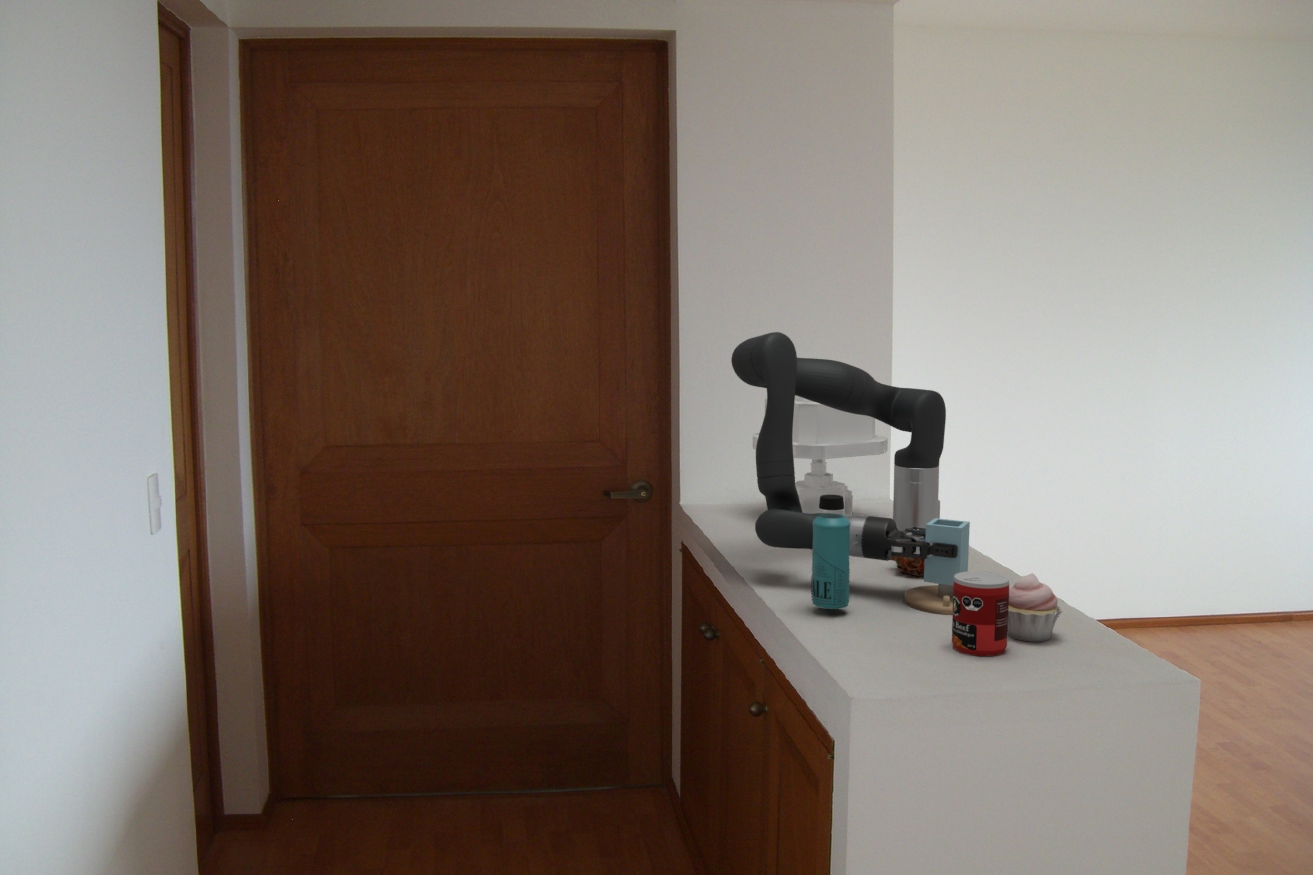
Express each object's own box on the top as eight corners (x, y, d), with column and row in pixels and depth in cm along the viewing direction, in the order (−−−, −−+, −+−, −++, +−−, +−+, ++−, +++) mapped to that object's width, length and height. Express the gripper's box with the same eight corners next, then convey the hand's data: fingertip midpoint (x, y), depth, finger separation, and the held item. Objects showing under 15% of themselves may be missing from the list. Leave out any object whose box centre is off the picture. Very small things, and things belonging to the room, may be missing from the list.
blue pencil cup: (932, 573, 188) (934, 518, 187) (967, 578, 186) (969, 521, 184) (923, 581, 183) (925, 524, 182) (959, 586, 180) (961, 528, 179)
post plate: (934, 587, 195) (936, 546, 194) (1004, 603, 184) (1006, 560, 183) (888, 602, 186) (889, 559, 185) (958, 620, 175) (960, 574, 174)
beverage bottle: (852, 608, 182) (854, 492, 179) (846, 619, 176) (848, 499, 173) (814, 605, 184) (816, 490, 182) (806, 616, 178) (808, 497, 175)
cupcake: (1074, 638, 165) (1077, 575, 164) (1034, 649, 161) (1036, 584, 159) (1024, 623, 173) (1027, 563, 172) (985, 633, 168) (987, 571, 167)
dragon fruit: (922, 590, 199) (900, 582, 211) (957, 561, 200) (933, 556, 212) (895, 554, 198) (874, 548, 210) (930, 525, 199) (907, 522, 211)
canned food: (944, 641, 165) (946, 571, 163) (994, 639, 165) (997, 570, 164) (962, 657, 157) (964, 584, 156) (1015, 656, 158) (1018, 583, 156)
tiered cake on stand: (740, 517, 257) (740, 371, 253) (833, 507, 269) (835, 368, 264) (800, 539, 233) (802, 379, 229) (899, 527, 245) (903, 374, 240)
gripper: (853, 523, 184) (952, 534, 176) (878, 509, 196) (972, 518, 188) (852, 566, 185) (950, 578, 177) (877, 549, 197) (970, 560, 189)
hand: (961, 547), depth 182 cm, fingers closed on blue pencil cup, 6 cm apart
